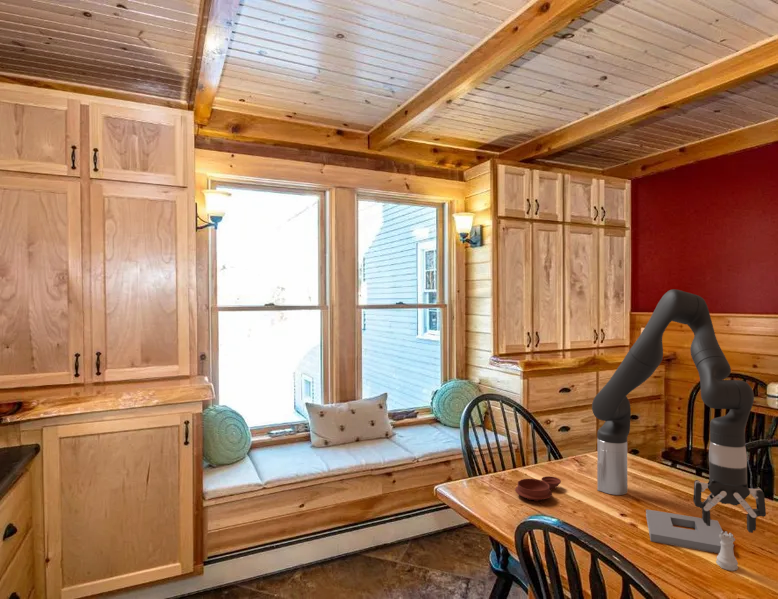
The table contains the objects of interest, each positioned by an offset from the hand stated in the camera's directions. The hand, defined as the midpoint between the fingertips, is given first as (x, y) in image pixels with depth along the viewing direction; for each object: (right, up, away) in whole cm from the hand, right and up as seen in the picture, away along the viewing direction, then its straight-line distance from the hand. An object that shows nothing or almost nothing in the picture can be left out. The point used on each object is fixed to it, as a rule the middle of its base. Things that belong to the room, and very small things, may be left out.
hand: (728, 527), depth 116 cm
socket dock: (-1, -9, +16) cm, 18 cm away
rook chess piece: (0, -10, 0) cm, 10 cm away
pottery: (-32, -10, +44) cm, 55 cm away
